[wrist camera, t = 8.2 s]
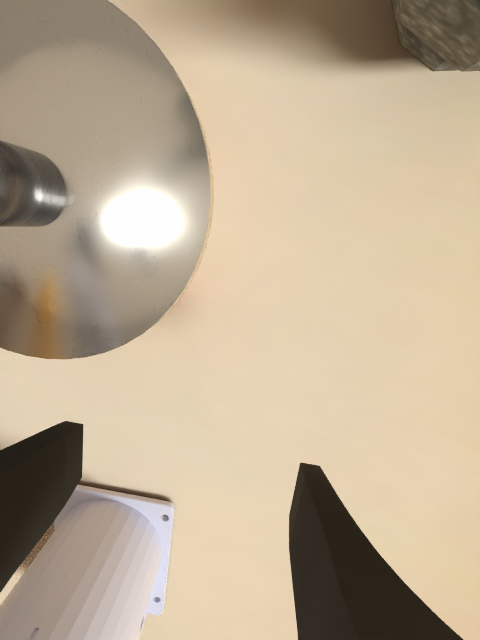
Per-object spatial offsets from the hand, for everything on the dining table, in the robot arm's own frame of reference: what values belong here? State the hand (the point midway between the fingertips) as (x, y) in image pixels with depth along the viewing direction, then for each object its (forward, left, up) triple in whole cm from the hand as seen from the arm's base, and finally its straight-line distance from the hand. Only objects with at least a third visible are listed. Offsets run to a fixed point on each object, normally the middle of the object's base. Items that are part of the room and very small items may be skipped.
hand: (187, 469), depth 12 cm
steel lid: (+8, +8, -5) cm, 12 cm away
